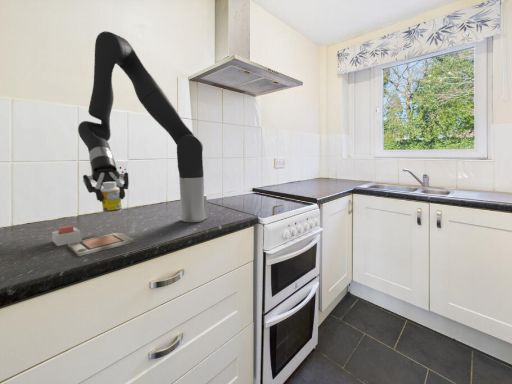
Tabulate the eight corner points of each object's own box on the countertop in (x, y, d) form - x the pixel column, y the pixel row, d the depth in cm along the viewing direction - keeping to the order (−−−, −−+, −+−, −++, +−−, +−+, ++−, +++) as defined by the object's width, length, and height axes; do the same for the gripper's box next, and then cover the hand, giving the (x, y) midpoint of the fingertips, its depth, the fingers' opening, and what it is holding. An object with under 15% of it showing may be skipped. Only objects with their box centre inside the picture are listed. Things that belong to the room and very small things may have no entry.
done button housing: (76, 236, 81) (75, 227, 81) (81, 240, 77) (80, 231, 77) (52, 241, 77) (51, 232, 76) (57, 246, 73) (56, 236, 72)
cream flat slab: (119, 234, 83) (119, 231, 83) (134, 242, 76) (133, 239, 76) (68, 246, 72) (67, 243, 72) (79, 256, 65) (78, 252, 65)
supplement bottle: (103, 211, 87) (99, 182, 85) (121, 209, 90) (118, 180, 88) (103, 214, 82) (99, 183, 80) (122, 212, 85) (119, 182, 83)
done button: (71, 232, 79) (70, 224, 78) (73, 234, 77) (72, 226, 76) (59, 235, 76) (58, 227, 76) (61, 237, 74) (60, 228, 74)
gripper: (78, 155, 84) (86, 194, 77) (125, 154, 93) (136, 189, 85) (79, 170, 89) (86, 209, 82) (123, 168, 98) (134, 202, 90)
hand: (112, 198), depth 84 cm, fingers closed on supplement bottle, 5 cm apart
